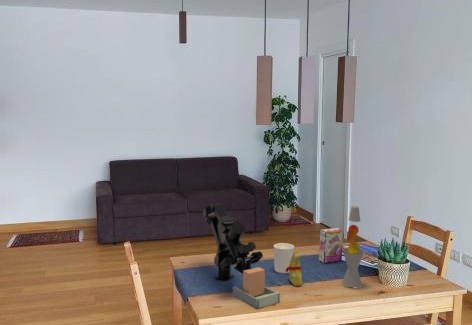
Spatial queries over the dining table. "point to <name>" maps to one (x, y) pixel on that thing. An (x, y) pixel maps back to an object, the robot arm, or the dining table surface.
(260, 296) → the gray open tray
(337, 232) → the candy bar box
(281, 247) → the white tapered cylinder
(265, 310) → the dining table surface
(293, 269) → the chocolate bunny
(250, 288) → the terracotta block
